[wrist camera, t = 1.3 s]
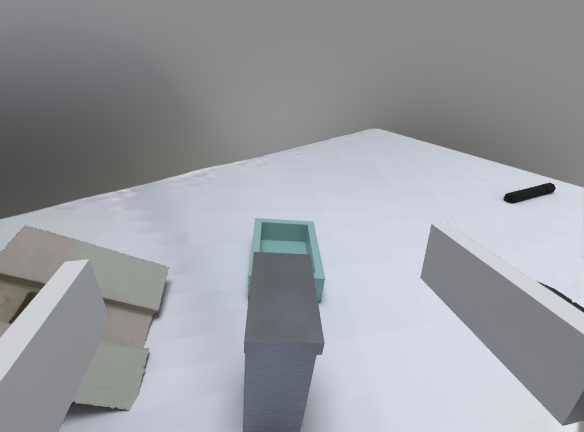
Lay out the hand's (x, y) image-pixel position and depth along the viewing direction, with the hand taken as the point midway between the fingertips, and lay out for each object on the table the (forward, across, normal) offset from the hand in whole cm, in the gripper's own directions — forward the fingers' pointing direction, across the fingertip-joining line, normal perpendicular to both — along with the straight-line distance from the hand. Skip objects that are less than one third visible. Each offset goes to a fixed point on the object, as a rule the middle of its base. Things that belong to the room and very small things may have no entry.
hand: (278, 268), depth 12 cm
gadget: (+48, +70, -22) cm, 88 cm away
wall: (+17, -18, -18) cm, 30 cm away
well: (+26, +4, -18) cm, 32 cm away
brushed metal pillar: (+8, 0, -20) cm, 21 cm away
